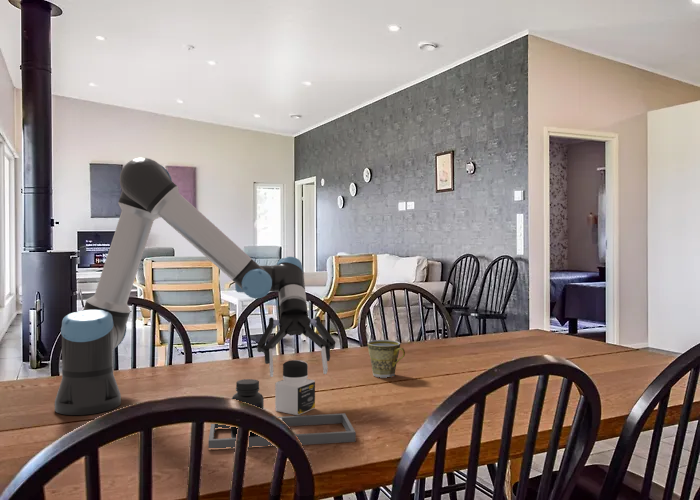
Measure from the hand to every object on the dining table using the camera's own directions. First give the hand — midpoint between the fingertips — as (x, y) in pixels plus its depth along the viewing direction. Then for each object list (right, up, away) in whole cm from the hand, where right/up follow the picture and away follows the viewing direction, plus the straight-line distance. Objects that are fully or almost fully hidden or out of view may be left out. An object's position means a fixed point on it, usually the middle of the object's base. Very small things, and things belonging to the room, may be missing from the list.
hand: (299, 372), depth 150 cm
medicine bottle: (-1, -9, -3) cm, 9 cm away
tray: (-2, -9, -21) cm, 23 cm away
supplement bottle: (-9, -9, -23) cm, 26 cm away
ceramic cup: (+24, -8, +31) cm, 40 cm away
